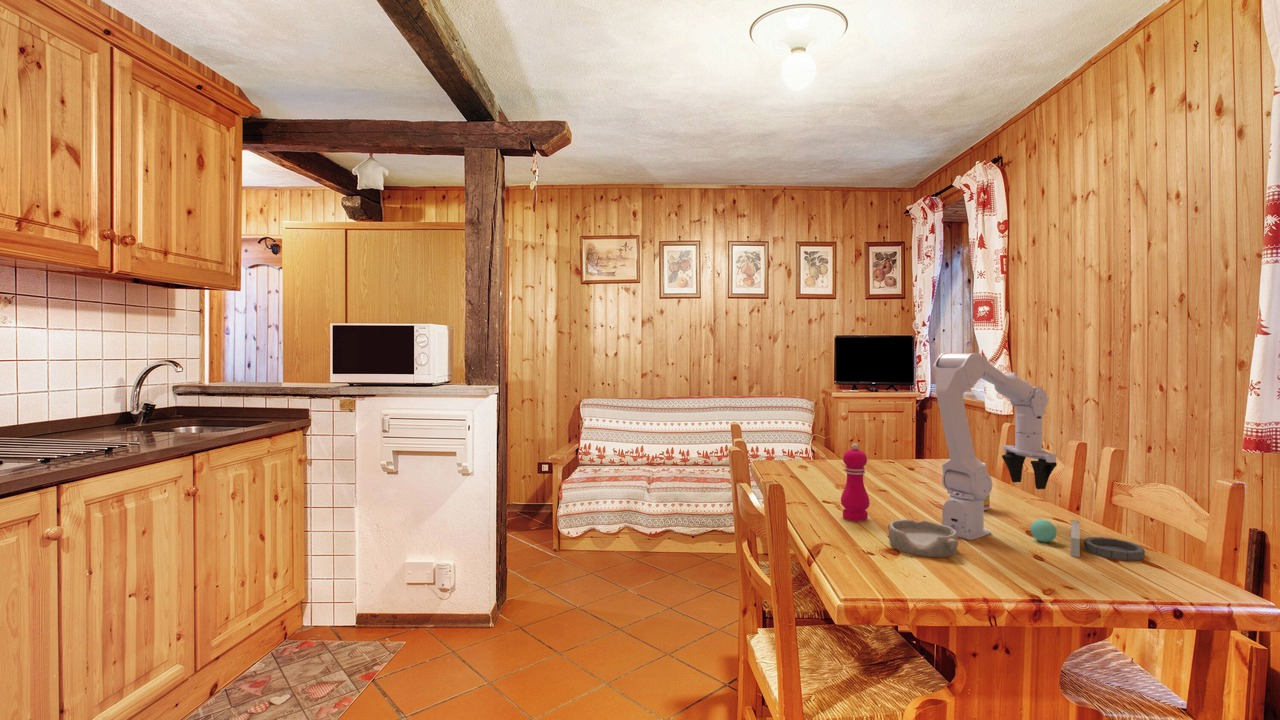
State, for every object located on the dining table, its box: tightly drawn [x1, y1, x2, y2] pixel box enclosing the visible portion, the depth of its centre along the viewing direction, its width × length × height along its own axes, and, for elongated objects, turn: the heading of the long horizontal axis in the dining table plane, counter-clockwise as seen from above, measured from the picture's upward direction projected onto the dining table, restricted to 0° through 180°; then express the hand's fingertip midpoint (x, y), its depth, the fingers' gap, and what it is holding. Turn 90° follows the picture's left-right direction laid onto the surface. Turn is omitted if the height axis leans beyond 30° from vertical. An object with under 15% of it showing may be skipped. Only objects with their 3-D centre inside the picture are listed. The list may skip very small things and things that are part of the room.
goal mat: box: [1083, 536, 1146, 562], centre depth 126 cm, size 10×10×2 cm
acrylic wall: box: [1070, 519, 1081, 558], centre depth 131 cm, size 16×2×4 cm, turn 143°
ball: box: [1030, 519, 1057, 543], centre depth 134 cm, size 5×5×5 cm
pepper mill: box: [840, 443, 870, 522], centre depth 154 cm, size 7×7×20 cm
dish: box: [887, 519, 959, 558], centre depth 131 cm, size 14×14×5 cm
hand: (1028, 485), depth 148 cm, fingers open, 7 cm apart
